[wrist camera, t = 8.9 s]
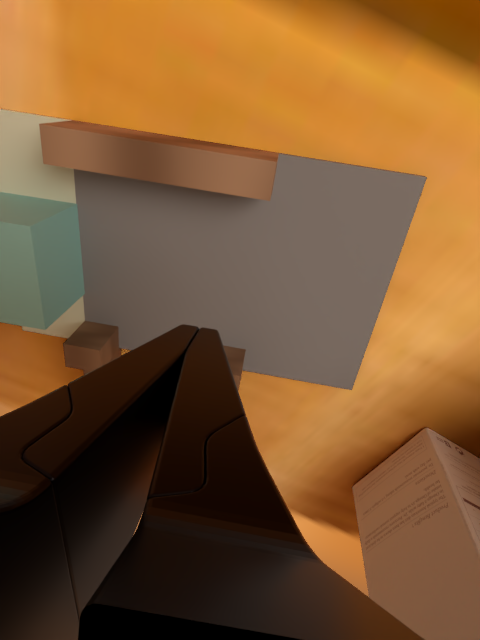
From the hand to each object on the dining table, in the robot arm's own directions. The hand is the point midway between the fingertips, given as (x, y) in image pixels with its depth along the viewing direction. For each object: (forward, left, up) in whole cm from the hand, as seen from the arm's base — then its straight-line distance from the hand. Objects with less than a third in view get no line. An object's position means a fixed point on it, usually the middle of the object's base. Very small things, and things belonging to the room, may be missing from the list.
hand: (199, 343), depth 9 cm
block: (+11, +3, -11) cm, 16 cm away
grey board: (+3, +3, -12) cm, 12 cm away
